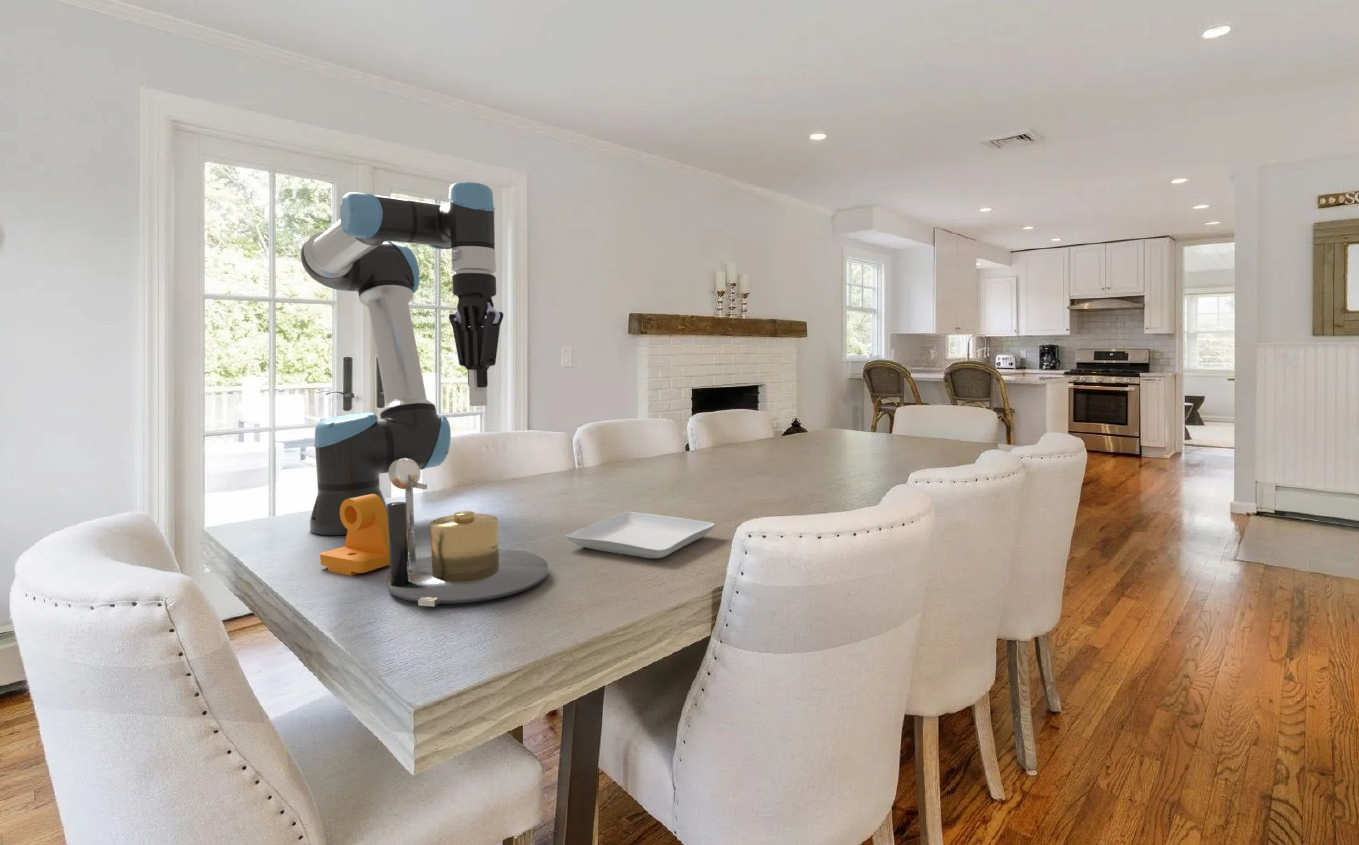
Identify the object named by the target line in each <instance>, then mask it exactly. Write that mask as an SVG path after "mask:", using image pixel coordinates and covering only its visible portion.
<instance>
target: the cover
mask: <svg viewBox="0 0 1359 845" xmlns="http://www.w3.org/2000/svg"><path fill="white" fill-rule="evenodd" d="M498 522H499V521H498V517H497V516H496V515H493V514H488V513H475V512H474V511H472V510H471V511H470V510H467V511H466V510H464V511H458V512H455V513H453V515H447V516H443V517H438V518H436V519H433V520H431V521H430V526H429V527H430V546H431V548H430V549H431V556H432V575H433V577H434V578H436V579H439V580H444V581H469V580H476V579H480V578H484V577H488V576H490V575H493V574H495V573H496V572H497V571H498V570H499V549H500V548H499V547H500V546H499V527H498V526H499V523H498Z"/></svg>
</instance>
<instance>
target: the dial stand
mask: <svg viewBox="0 0 1359 845" xmlns="http://www.w3.org/2000/svg"><path fill="white" fill-rule="evenodd" d="M387 474H388V478H389V480H390V482H391V484H392V485H393V486H394V487H396V488H398V489H401V490H404V495H405V503H406V511H407V534H408V556H409V563H410V562H413V561H416V560H419V559H422V558H426V557H427V556H425V555H422V556H420V555H416V553H417V552H416V531H415V530H416V529H415V513H414V512H415V507H414V488H416V489H421V490H427V489H428V484H427V483H421V482H420V478H421V469H420V468H419V466H418V464H417V463H416V462H415V461H413V460H412V459H409V458H402V459H399V460H396V461H394V462H393V463H392V464H391V466H390V468H389V472H388V473H387Z"/></svg>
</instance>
